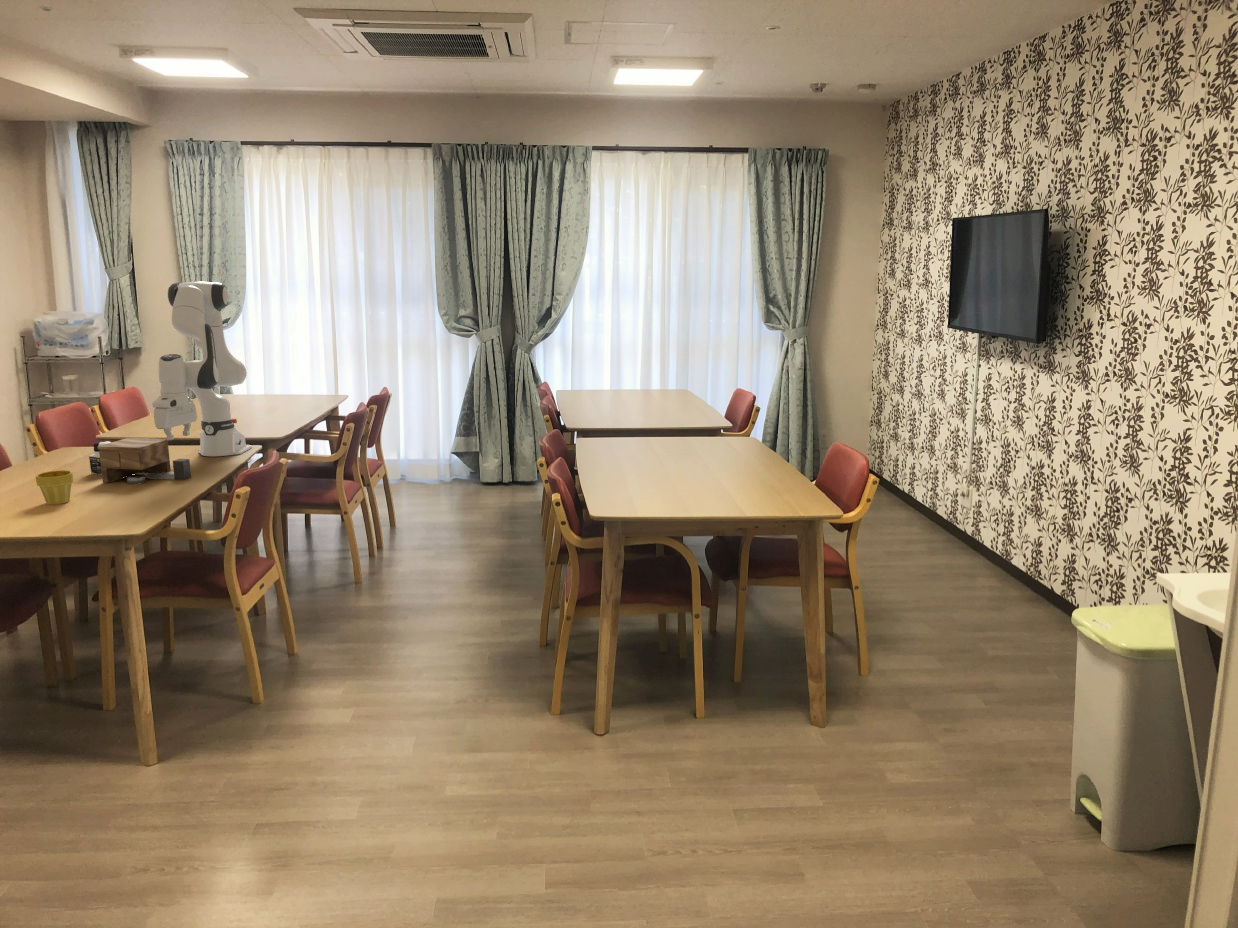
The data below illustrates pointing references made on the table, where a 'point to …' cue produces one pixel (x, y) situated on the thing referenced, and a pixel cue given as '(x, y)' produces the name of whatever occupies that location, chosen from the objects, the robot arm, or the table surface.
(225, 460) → the table surface
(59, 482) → the plant pot
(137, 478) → the steel puck
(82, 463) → the table surface
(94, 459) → the medicine bottle
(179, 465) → the grey mallet
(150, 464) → the cabinet
